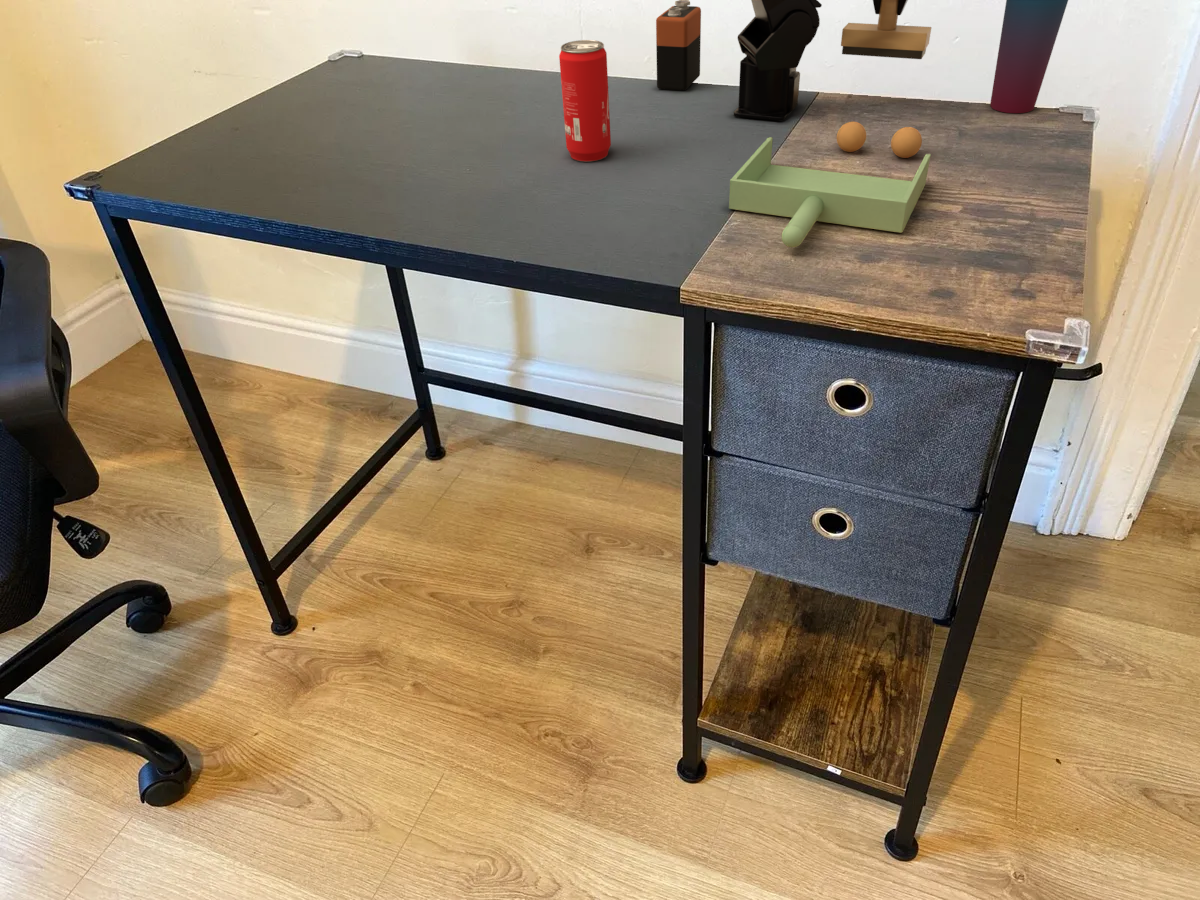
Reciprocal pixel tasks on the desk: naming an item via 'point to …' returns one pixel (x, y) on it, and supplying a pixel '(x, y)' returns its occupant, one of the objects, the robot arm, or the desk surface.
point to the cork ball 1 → (851, 136)
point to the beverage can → (585, 99)
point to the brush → (885, 36)
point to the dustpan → (823, 196)
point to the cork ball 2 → (906, 142)
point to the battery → (678, 46)
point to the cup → (1025, 52)
